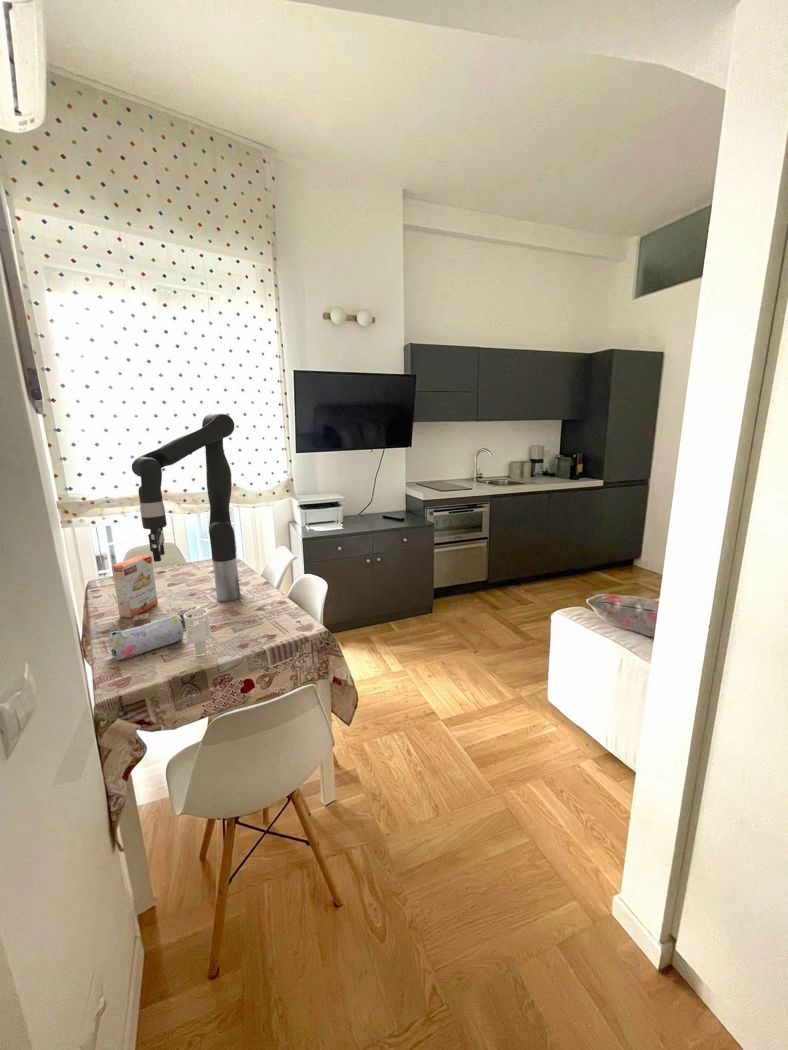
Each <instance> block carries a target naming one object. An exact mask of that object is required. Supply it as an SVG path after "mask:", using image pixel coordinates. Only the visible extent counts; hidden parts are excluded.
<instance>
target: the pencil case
mask: <svg viewBox="0 0 788 1050" xmlns="http://www.w3.org/2000/svg"><path fill="white" fill-rule="evenodd" d="M180 620H181V621H183V620H182V619H181V617H180V616H179V615H177V613H176V614H172V615H171V616H167V617H164V618H160V619H157V620H154V621H152V622H151V623H148V624H145V625H142V626H138V627H135V628H134V627H133V628H127V629H125V630H124V629H123V630H117V631H116V630H114V631H112V632H110V633H109V642H110V646H111V649H110V652H111V655H112V656H113V657H115V660H117V661H120V660H126V658H127V659H129V657H130V658H132V656H133V657H136V656H139V655H142V654H144V652H145V653H148V652H150V650H151V651H153V649H154V650H156V649H159V648H163V647H165V646H168V645H170V644H173V643H177V642H179V641H181V640H183V638H184V636H185V635H184V632H185V631H184V626H182V623H181V621H180ZM147 651H148V652H147ZM141 653H142V654H141ZM138 654H139V655H138ZM135 655H136V656H135Z"/></svg>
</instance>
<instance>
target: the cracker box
mask: <svg viewBox="0 0 788 1050" xmlns="http://www.w3.org/2000/svg"><path fill="white" fill-rule="evenodd" d="M152 559H153V556H152V555H142V554H141V555H137V556H133V557H131V558H129V559H126V560H123V561H120V562H118V563H115V564H113V565H112V564H111V571H112V578H113V582H114V588H115V596H116V602H117V607H118V613H119V614H118V615H119V617H120V618H128V619H134V617H135V615H141V614H142V613H144V612H145V611H147V610H149V609H152V608H153V607H155V606H157V605H158V602H159V601H158V594H157V588H156V581H155V572H154V566H153V560H152Z"/></svg>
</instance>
